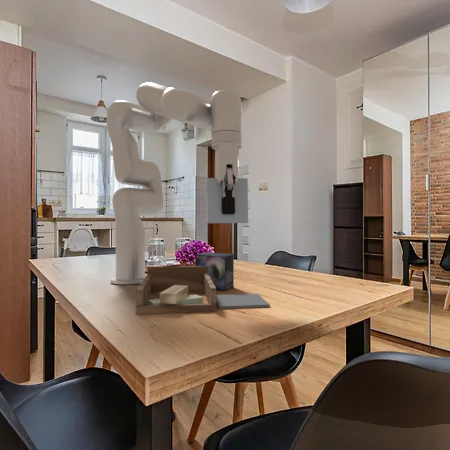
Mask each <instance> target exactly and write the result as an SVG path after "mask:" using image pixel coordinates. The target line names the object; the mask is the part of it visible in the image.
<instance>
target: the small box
mask: <svg viewBox="0 0 450 450" xmlns="http://www.w3.org/2000/svg"><path fill="white" fill-rule="evenodd" d="M234 256H235V254H234V253H222V252H201V253H197V254H195V265H194V266H208V275H209V276H210V278H211V280H212V282H213V284H214V285H215V287H216V291H221V292H222V291H223V292H226V291H229V290H232V289H234V288H235V287H234V286H235V285H234V282H235V281H234V275H235V274H234V271H235V270H234V267H235V266H234V263H235V261H234Z"/></svg>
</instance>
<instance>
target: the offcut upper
mask: <svg viewBox="0 0 450 450" xmlns="http://www.w3.org/2000/svg"><path fill="white" fill-rule="evenodd" d="M187 295H189V291H188V286H184V285H174V286H172V287H170V288H168V289H166V290H165V291H163V292H159V299H160V303H167V304H176V303H177V302H179V301H180V300H181V299H183V298H184V297H185V296H187Z"/></svg>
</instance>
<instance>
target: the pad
mask: <svg viewBox="0 0 450 450" xmlns="http://www.w3.org/2000/svg"><path fill="white" fill-rule="evenodd" d="M216 307H217V308H218V310H223V309H224V310H225V309H252V308H253V309H254V308H255V309H256V308H257V309H259V308H270V307H271V304H270V303H269V302H268V301H266V300H265V299H264V298H263V297H262V296H261V295H260V294H259V293H242V294H234V293H233V294H216Z"/></svg>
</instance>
